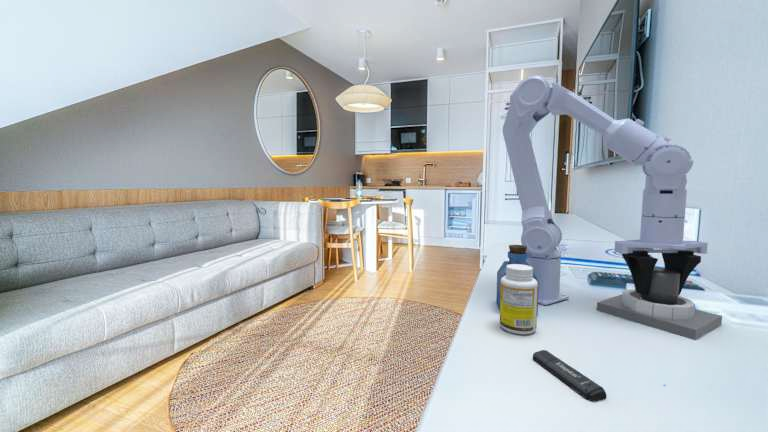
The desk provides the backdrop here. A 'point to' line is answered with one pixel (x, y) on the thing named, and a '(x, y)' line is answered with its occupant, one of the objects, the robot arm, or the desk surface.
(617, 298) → the ring holder base
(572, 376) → the usb stick
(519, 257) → the perfume bottle
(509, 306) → the supplement bottle
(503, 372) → the desk surface
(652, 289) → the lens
